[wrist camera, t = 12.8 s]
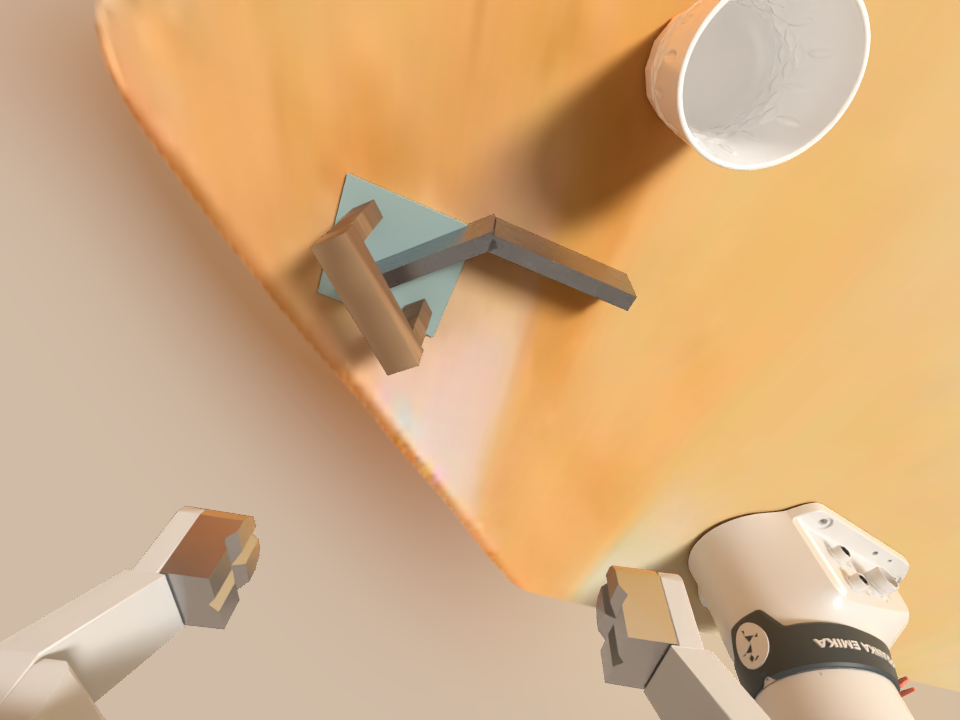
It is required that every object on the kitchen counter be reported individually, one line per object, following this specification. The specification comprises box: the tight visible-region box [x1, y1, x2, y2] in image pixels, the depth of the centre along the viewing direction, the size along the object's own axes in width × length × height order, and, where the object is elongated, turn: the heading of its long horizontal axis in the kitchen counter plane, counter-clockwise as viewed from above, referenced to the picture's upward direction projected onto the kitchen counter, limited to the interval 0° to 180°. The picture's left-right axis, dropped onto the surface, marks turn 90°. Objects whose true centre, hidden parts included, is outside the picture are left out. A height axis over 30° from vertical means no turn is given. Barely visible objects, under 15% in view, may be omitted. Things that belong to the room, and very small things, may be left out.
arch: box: [310, 199, 432, 375], centre depth 35 cm, size 2×10×8 cm, turn 22°
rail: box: [375, 214, 637, 311], centre depth 37 cm, size 19×9×4 cm, turn 67°
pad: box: [318, 173, 468, 337], centre depth 38 cm, size 10×10×1 cm
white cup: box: [645, 0, 870, 171], centre depth 26 cm, size 8×8×10 cm
